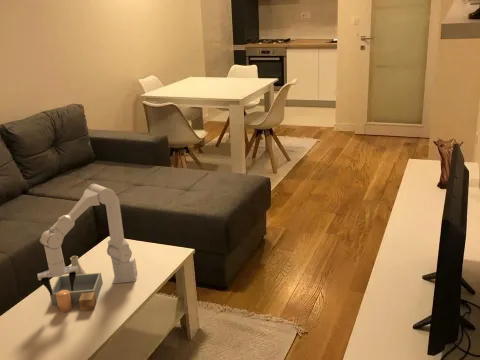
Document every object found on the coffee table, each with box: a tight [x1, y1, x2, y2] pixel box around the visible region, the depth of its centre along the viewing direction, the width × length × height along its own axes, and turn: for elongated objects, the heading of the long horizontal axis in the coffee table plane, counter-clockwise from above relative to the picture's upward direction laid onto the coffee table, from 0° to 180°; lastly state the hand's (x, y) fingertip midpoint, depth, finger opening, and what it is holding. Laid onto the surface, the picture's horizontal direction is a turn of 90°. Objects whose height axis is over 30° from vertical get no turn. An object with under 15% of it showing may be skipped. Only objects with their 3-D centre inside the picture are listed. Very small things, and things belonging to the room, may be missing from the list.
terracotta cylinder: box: [56, 290, 73, 314], centre depth 202 cm, size 5×5×7 cm
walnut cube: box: [78, 292, 97, 312], centre depth 203 cm, size 5×5×5 cm
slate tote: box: [49, 272, 104, 306], centre depth 212 cm, size 17×13×5 cm
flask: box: [69, 255, 87, 275], centre depth 222 cm, size 7×7×10 cm
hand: (62, 291), depth 200 cm, fingers open, 7 cm apart
